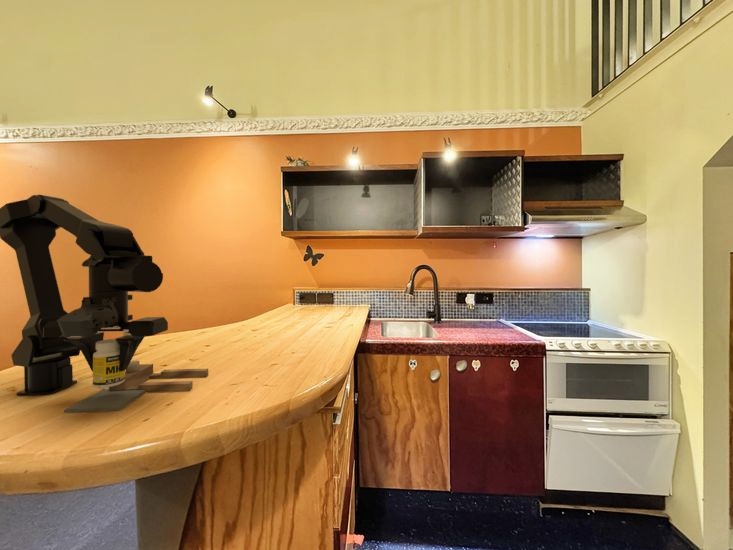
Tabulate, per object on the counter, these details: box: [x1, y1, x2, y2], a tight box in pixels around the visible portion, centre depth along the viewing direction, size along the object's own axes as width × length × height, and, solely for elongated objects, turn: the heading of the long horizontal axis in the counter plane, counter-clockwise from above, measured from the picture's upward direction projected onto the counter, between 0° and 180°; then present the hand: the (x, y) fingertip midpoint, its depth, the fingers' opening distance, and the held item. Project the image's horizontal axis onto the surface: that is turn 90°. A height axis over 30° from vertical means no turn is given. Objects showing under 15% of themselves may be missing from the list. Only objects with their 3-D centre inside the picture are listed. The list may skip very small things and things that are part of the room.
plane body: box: [108, 360, 209, 394], centre depth 66 cm, size 16×10×5 cm, turn 96°
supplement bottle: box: [92, 338, 126, 389], centre depth 58 cm, size 5×5×8 cm
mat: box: [63, 388, 146, 414], centre depth 58 cm, size 9×9×1 cm
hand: (109, 370), depth 58 cm, fingers closed on supplement bottle, 5 cm apart
